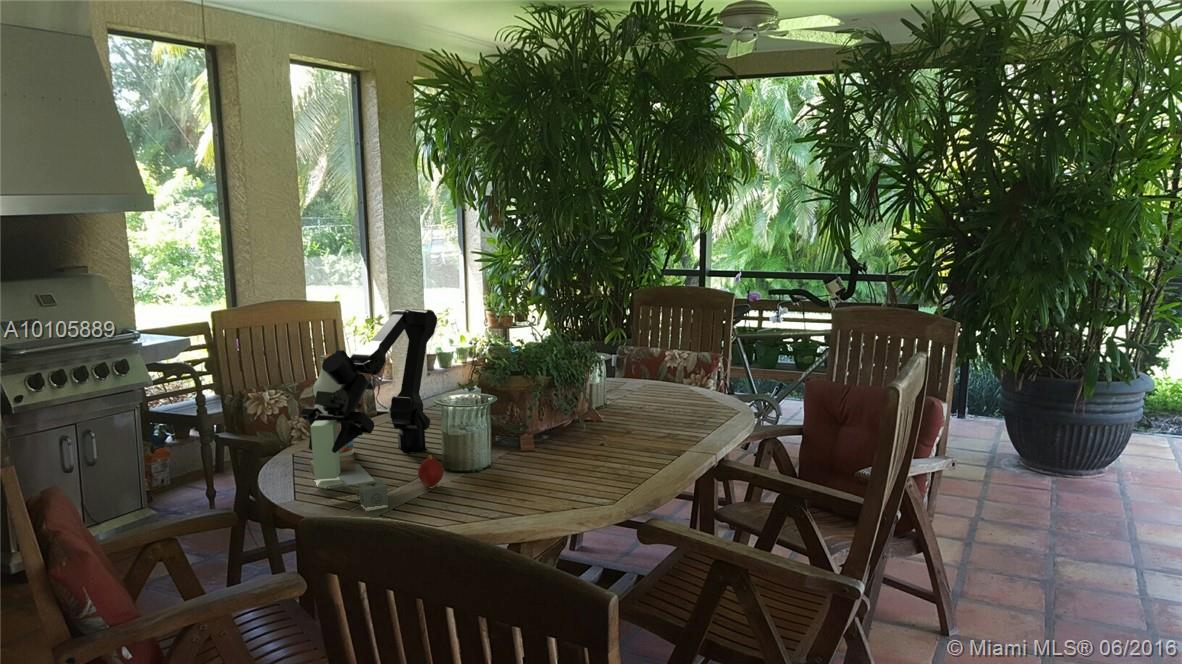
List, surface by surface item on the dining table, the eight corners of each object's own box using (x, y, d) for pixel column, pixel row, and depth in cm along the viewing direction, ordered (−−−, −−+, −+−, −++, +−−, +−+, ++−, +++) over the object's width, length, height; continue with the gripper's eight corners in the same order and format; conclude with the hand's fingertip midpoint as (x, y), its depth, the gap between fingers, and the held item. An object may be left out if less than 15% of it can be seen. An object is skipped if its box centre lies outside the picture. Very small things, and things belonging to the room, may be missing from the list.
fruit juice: (313, 457, 224) (306, 355, 220) (348, 451, 229) (341, 351, 225) (323, 465, 216) (315, 359, 212) (358, 459, 221) (352, 355, 217)
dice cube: (382, 501, 187) (381, 480, 187) (388, 507, 183) (387, 486, 182) (360, 505, 185) (358, 483, 184) (365, 512, 181) (364, 490, 180)
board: (359, 468, 212) (358, 463, 212) (375, 485, 199) (374, 480, 198) (302, 477, 206) (301, 472, 206) (314, 495, 192) (314, 490, 192)
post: (340, 472, 201) (336, 419, 199) (336, 478, 196) (332, 425, 194) (319, 473, 200) (315, 420, 198) (314, 479, 195) (310, 426, 193)
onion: (417, 485, 198) (415, 453, 197) (441, 482, 200) (439, 450, 199) (421, 492, 192) (419, 459, 191) (445, 489, 194) (444, 456, 193)
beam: (351, 466, 210) (351, 454, 210) (355, 470, 207) (354, 458, 207) (311, 472, 206) (310, 461, 205) (314, 477, 202) (313, 465, 202)
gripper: (302, 374, 202) (271, 429, 193) (363, 379, 194) (334, 436, 186) (326, 399, 210) (298, 453, 202) (386, 404, 203) (359, 460, 194)
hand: (321, 450), depth 196 cm, fingers closed on post, 7 cm apart
